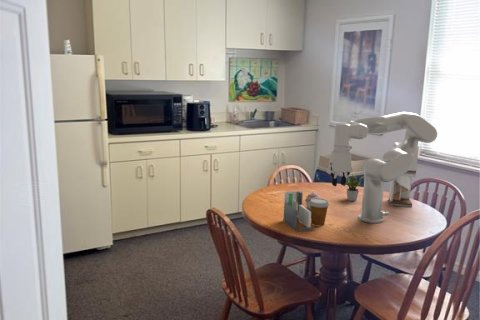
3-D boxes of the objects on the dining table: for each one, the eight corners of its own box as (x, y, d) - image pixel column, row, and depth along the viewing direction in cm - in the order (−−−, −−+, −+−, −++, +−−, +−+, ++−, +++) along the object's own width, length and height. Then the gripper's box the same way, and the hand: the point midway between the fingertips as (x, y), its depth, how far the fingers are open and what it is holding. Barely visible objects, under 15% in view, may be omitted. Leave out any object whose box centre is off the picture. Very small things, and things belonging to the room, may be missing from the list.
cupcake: (309, 204, 231) (310, 187, 229) (324, 208, 225) (325, 191, 223) (300, 208, 224) (301, 191, 222) (315, 212, 218) (317, 194, 216)
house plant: (368, 204, 234) (371, 176, 231) (344, 203, 234) (346, 176, 231) (361, 197, 248) (364, 171, 245) (339, 196, 248) (341, 170, 245)
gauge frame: (300, 219, 207) (302, 190, 204) (314, 230, 193) (316, 199, 190) (282, 220, 205) (284, 191, 202) (295, 231, 190) (297, 201, 187)
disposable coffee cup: (331, 223, 202) (332, 200, 199) (320, 228, 195) (322, 204, 192) (314, 219, 208) (316, 196, 206) (304, 223, 201) (305, 200, 199)
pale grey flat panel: (299, 218, 206) (300, 192, 203) (310, 228, 194) (312, 199, 191) (297, 219, 206) (298, 192, 203) (308, 228, 193) (310, 200, 191)
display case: (390, 205, 234) (396, 145, 227) (388, 199, 244) (394, 142, 237) (411, 207, 231) (418, 146, 224) (408, 201, 241) (415, 143, 234)
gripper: (352, 147, 202) (349, 182, 206) (322, 147, 198) (319, 184, 201) (361, 149, 195) (357, 186, 199) (329, 150, 191) (327, 188, 194)
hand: (338, 185), depth 200 cm, fingers open, 4 cm apart
